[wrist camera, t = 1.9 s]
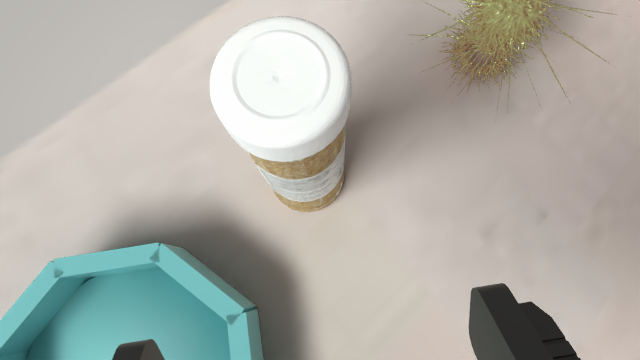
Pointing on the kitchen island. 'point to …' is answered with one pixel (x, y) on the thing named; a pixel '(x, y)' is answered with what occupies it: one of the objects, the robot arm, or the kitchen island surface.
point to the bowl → (130, 309)
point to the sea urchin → (499, 34)
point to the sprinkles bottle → (287, 106)
